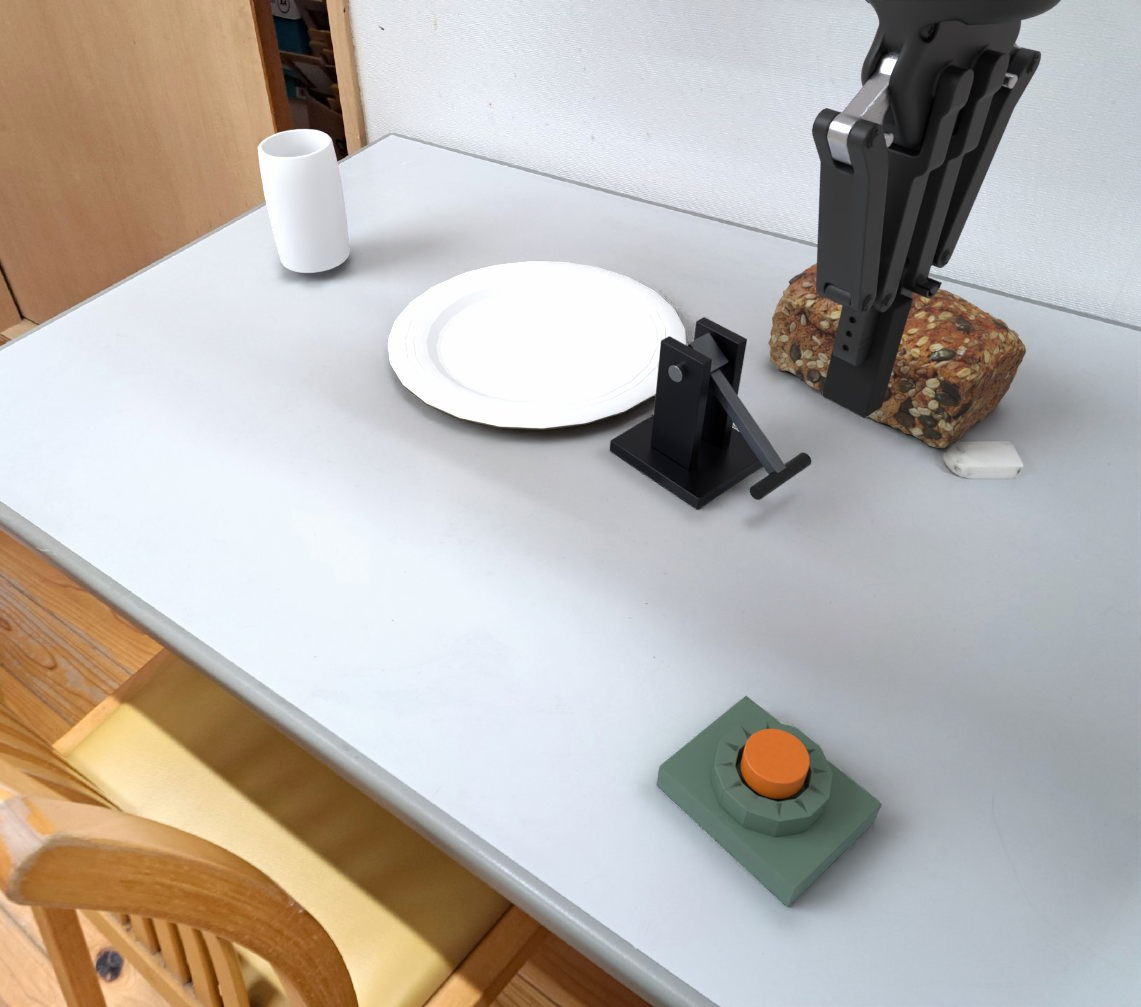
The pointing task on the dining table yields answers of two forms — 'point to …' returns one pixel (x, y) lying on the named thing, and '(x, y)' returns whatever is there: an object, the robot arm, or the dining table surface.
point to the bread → (909, 358)
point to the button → (774, 763)
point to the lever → (748, 424)
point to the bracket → (691, 423)
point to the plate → (533, 344)
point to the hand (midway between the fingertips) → (851, 400)
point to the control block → (767, 804)
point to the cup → (304, 199)
